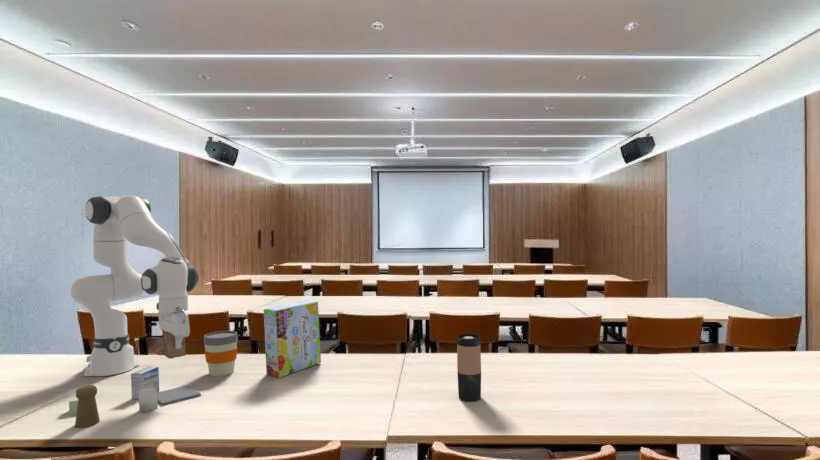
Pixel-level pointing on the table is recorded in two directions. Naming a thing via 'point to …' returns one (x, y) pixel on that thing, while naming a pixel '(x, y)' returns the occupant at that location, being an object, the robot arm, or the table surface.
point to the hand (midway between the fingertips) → (174, 346)
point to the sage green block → (73, 405)
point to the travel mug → (469, 367)
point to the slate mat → (176, 395)
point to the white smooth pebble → (148, 400)
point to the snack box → (291, 337)
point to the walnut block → (169, 346)
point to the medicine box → (144, 380)
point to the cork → (86, 407)
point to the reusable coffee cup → (221, 352)
